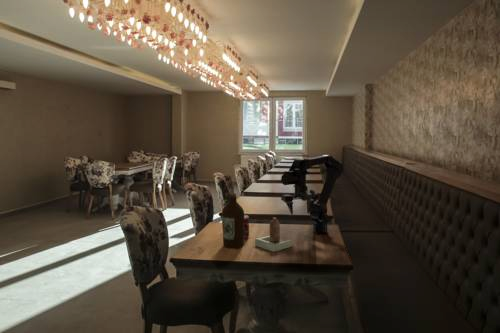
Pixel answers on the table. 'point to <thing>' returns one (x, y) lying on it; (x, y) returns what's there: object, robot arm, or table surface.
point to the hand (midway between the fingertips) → (300, 214)
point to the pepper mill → (274, 231)
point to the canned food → (246, 227)
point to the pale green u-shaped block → (272, 244)
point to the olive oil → (233, 223)
